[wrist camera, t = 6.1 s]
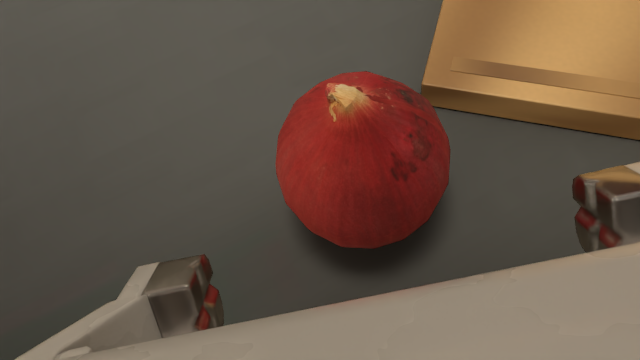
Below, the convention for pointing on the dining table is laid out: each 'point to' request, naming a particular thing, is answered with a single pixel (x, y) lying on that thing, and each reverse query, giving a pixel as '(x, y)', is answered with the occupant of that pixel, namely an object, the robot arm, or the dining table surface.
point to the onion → (362, 160)
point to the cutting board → (540, 62)
